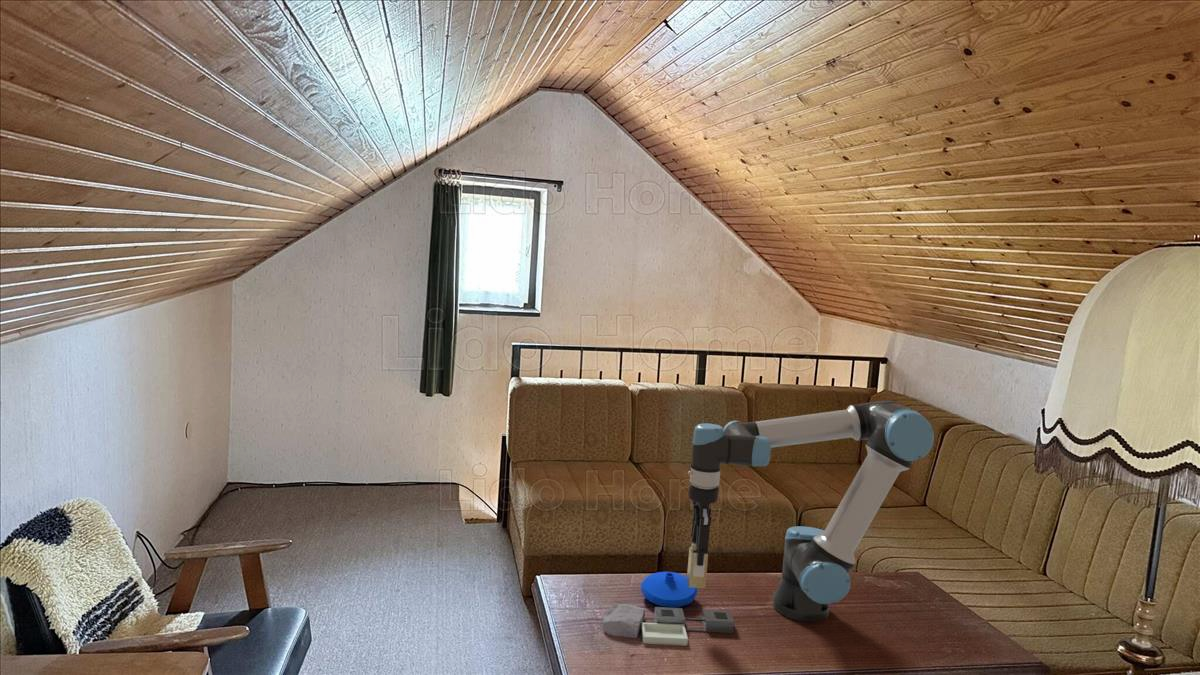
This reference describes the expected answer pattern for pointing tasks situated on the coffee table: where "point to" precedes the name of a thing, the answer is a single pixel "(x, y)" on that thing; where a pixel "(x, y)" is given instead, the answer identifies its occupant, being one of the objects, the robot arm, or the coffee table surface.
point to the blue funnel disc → (668, 589)
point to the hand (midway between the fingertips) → (696, 571)
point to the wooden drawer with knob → (692, 581)
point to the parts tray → (664, 634)
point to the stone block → (623, 620)
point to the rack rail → (710, 619)
